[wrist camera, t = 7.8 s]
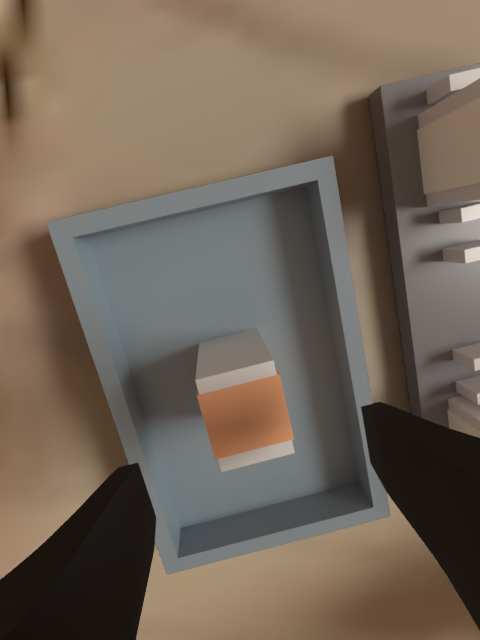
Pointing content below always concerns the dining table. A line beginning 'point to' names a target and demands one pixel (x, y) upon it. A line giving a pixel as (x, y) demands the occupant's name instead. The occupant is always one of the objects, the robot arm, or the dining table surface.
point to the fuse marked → (242, 401)
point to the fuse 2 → (464, 416)
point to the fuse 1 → (451, 148)
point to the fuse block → (429, 251)
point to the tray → (219, 321)
